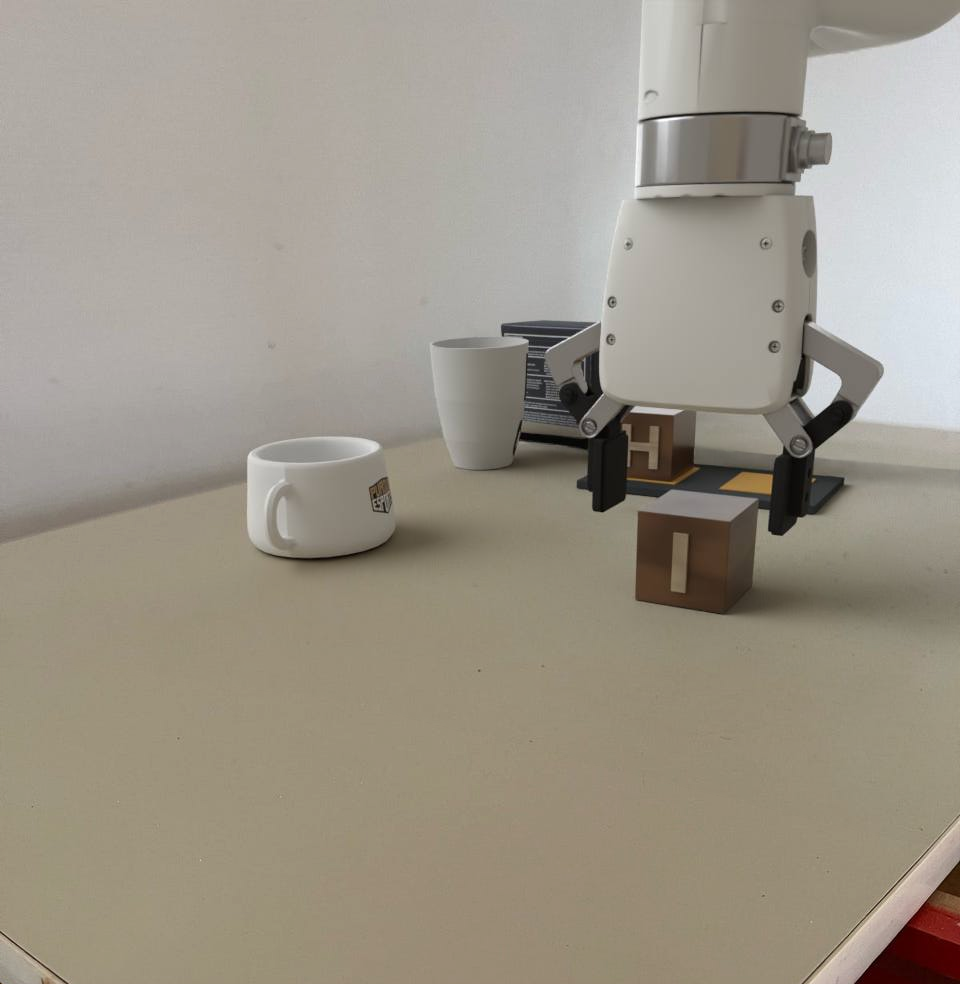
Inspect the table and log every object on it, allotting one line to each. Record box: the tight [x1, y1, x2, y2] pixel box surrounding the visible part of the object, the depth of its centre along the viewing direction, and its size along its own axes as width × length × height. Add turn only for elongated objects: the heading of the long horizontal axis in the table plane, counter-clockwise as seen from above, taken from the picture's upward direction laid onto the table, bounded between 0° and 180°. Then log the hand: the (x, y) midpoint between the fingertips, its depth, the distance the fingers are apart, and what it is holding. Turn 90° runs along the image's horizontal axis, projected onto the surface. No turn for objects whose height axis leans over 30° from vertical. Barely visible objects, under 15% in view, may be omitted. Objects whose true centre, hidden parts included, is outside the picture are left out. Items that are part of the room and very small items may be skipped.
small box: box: [500, 319, 603, 450], centre depth 94 cm, size 11×6×10 cm, turn 48°
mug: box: [246, 436, 396, 559], centre depth 66 cm, size 12×10×6 cm
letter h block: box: [621, 406, 697, 482], centre depth 79 cm, size 5×5×5 cm
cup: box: [429, 336, 529, 471], centre depth 86 cm, size 8×8×10 cm
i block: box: [634, 490, 759, 615], centre depth 56 cm, size 5×5×5 cm
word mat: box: [576, 463, 845, 515], centre depth 78 cm, size 18×9×1 cm, turn 60°
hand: (692, 517), depth 55 cm, fingers open, 9 cm apart
